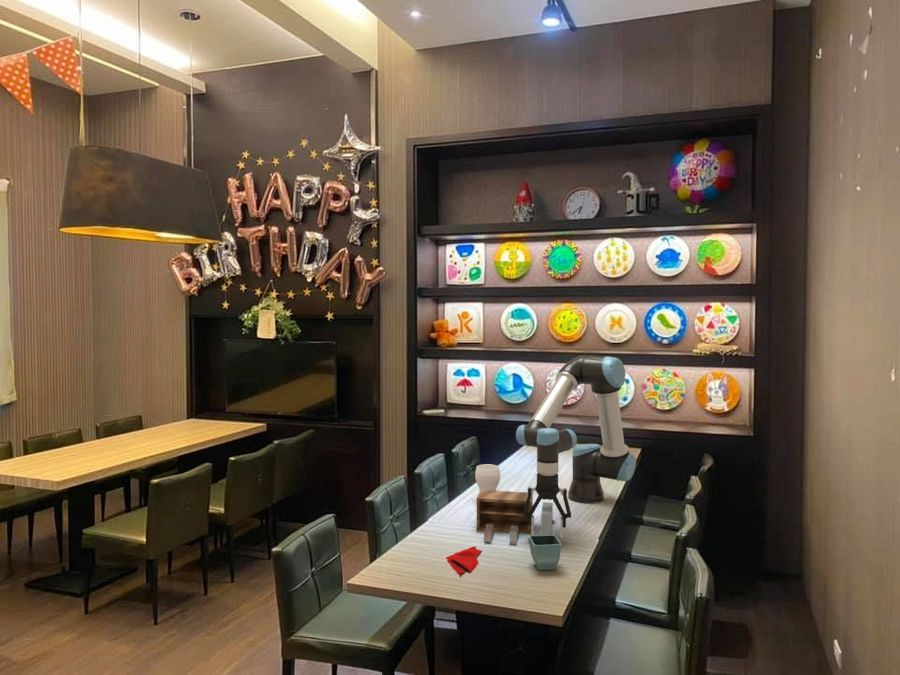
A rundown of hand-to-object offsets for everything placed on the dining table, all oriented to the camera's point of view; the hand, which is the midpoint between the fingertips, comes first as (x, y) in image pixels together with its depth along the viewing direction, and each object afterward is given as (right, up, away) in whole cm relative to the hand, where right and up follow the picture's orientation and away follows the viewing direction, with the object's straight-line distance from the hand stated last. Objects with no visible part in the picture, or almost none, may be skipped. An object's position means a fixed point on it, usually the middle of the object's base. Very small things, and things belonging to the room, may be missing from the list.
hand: (546, 535), depth 232 cm
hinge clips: (-16, -2, +4) cm, 16 cm away
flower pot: (-4, -4, -22) cm, 23 cm away
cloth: (-29, -4, -17) cm, 34 cm away
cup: (-18, 0, +45) cm, 49 cm away
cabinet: (-14, -1, +15) cm, 20 cm away
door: (0, -2, 0) cm, 2 cm away
